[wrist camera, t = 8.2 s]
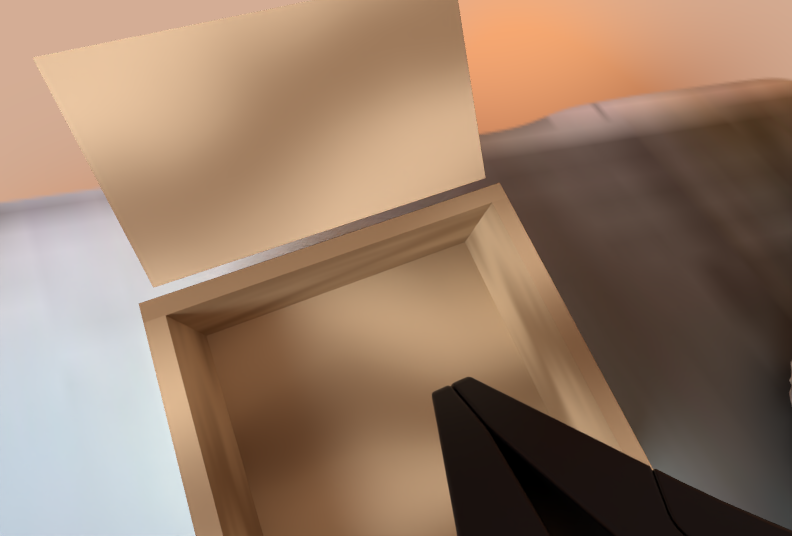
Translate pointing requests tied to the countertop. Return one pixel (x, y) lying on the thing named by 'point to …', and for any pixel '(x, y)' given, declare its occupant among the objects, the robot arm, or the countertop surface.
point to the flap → (270, 124)
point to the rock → (791, 386)
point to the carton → (363, 371)
